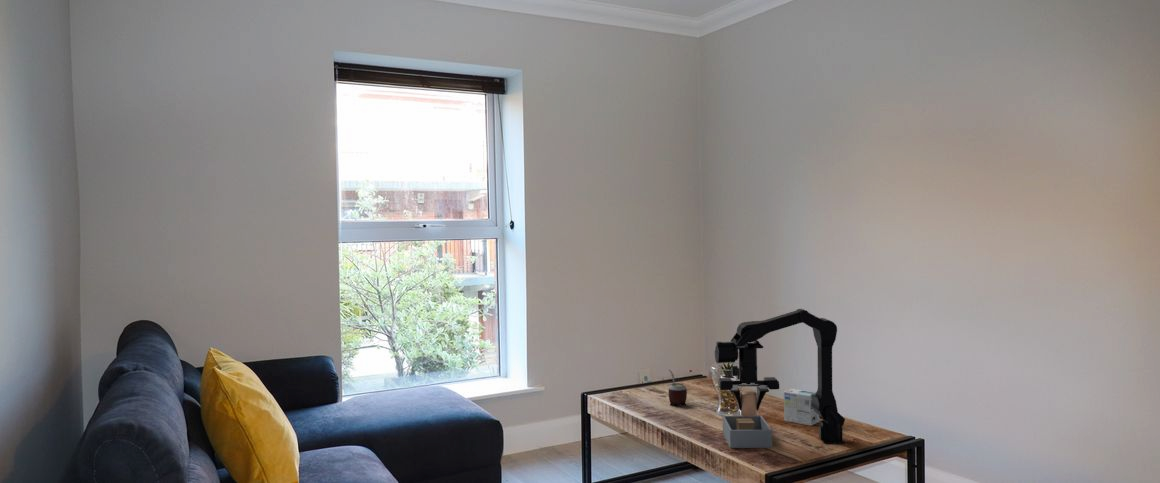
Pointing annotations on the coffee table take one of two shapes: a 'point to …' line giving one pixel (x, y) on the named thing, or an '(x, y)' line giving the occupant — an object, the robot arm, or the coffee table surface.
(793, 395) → the light bulb box
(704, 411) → the coffee table surface
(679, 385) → the mate gourd
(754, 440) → the box
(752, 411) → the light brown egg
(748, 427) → the walnut cube
